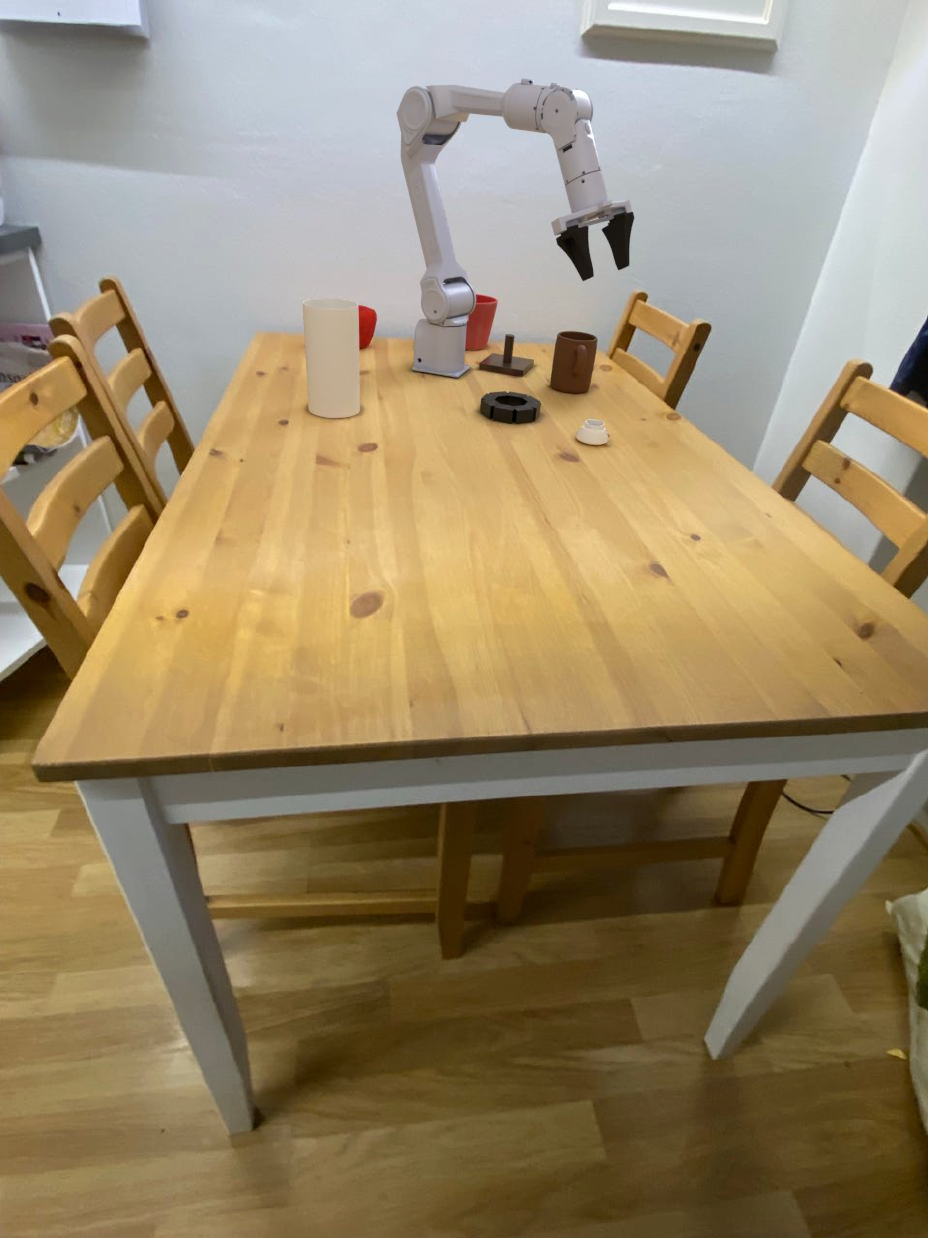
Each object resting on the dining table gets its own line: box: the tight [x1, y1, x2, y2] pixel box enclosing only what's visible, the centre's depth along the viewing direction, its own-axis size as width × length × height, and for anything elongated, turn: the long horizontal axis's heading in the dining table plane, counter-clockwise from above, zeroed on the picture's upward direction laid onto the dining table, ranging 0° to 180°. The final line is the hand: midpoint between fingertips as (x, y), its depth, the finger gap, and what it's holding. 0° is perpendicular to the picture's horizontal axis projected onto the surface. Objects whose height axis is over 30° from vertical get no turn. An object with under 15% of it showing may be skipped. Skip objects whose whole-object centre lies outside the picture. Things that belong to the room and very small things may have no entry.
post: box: [478, 333, 535, 377], centre depth 139 cm, size 9×9×6 cm
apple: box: [358, 304, 378, 349], centre depth 143 cm, size 9×9×8 cm
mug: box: [549, 330, 599, 394], centre depth 127 cm, size 12×8×9 cm, turn 0°
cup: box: [302, 297, 361, 419], centre depth 108 cm, size 8×8×16 cm
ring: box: [479, 390, 542, 425], centre depth 117 cm, size 10×10×2 cm
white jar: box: [575, 418, 610, 446], centre depth 108 cm, size 5×3×5 cm
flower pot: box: [465, 293, 499, 351], centre depth 150 cm, size 11×11×10 cm
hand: (606, 273), depth 110 cm, fingers open, 7 cm apart
